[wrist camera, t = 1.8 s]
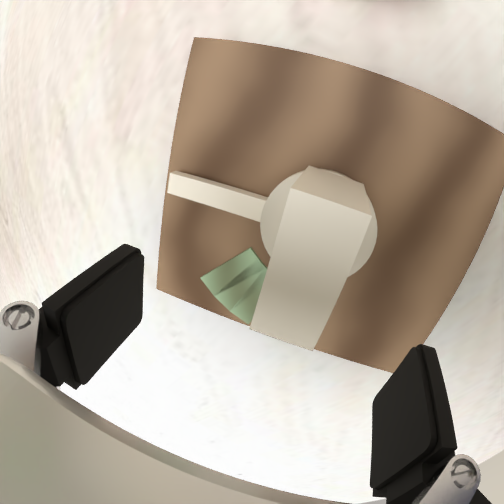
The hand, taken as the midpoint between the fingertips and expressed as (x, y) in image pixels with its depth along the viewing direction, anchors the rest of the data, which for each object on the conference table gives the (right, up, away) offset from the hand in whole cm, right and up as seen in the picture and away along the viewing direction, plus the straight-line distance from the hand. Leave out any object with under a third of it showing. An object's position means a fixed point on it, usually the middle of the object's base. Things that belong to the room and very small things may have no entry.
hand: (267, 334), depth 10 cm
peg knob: (+1, +5, +10) cm, 11 cm away
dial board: (+4, +5, +11) cm, 13 cm away
